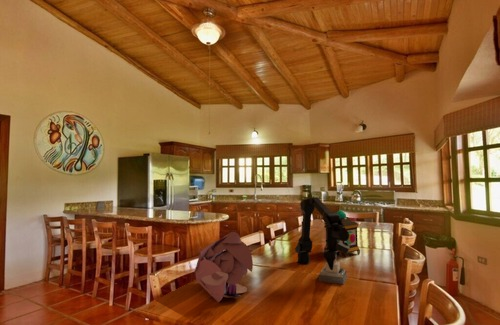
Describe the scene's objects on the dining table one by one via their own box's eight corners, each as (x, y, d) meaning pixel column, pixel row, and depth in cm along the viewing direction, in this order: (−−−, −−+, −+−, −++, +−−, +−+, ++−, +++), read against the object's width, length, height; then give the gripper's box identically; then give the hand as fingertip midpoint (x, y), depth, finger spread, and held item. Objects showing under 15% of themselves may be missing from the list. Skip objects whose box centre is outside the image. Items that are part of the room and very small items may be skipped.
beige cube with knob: (325, 271, 142) (325, 259, 143) (328, 268, 147) (327, 256, 148) (337, 273, 139) (337, 260, 140) (339, 269, 145) (339, 257, 145)
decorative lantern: (363, 254, 191) (361, 210, 193) (345, 259, 180) (343, 212, 182) (339, 248, 208) (338, 208, 210) (321, 252, 196) (320, 210, 199)
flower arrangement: (263, 306, 123) (276, 242, 127) (224, 313, 107) (240, 239, 111) (214, 279, 148) (226, 226, 152) (176, 281, 131) (191, 222, 135)
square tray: (318, 280, 140) (318, 271, 141) (323, 273, 151) (323, 265, 151) (343, 284, 135) (343, 275, 135) (346, 277, 146) (346, 268, 146)
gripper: (345, 242, 133) (346, 276, 132) (350, 235, 149) (351, 265, 148) (322, 240, 138) (322, 272, 137) (329, 234, 154) (330, 262, 153)
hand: (332, 268), depth 143 cm, fingers closed on beige cube with knob, 6 cm apart
